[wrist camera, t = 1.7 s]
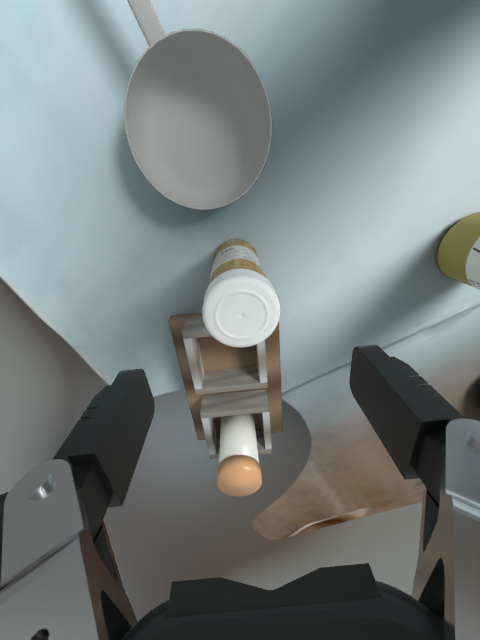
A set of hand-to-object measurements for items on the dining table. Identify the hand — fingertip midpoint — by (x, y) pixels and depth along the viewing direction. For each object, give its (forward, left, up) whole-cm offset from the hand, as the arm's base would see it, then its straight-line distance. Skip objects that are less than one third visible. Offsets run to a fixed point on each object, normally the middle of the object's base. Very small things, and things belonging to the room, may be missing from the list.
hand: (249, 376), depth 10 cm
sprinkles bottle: (0, 0, -19) cm, 19 cm away
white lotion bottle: (+20, -2, -17) cm, 27 cm away
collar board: (+15, -2, -19) cm, 24 cm away
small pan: (-14, -3, -19) cm, 24 cm away
